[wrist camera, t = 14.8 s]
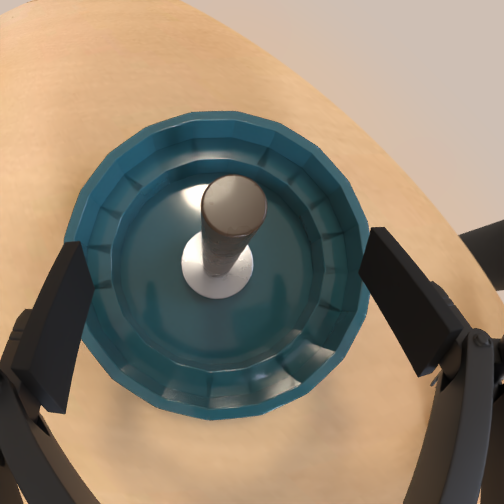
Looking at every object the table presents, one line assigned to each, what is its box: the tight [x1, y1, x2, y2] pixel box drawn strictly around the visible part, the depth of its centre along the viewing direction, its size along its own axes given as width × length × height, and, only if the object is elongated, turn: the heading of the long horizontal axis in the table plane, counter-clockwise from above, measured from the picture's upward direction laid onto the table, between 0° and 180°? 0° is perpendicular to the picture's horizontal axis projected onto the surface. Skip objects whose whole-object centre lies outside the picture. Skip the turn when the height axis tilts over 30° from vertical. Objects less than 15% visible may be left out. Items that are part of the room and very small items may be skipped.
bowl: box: [64, 111, 370, 420], centre depth 21 cm, size 20×20×6 cm
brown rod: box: [181, 174, 267, 300], centre depth 16 cm, size 5×5×14 cm
